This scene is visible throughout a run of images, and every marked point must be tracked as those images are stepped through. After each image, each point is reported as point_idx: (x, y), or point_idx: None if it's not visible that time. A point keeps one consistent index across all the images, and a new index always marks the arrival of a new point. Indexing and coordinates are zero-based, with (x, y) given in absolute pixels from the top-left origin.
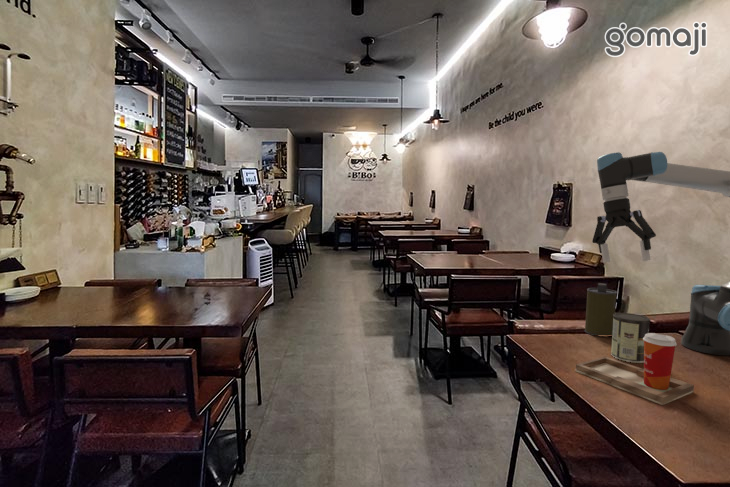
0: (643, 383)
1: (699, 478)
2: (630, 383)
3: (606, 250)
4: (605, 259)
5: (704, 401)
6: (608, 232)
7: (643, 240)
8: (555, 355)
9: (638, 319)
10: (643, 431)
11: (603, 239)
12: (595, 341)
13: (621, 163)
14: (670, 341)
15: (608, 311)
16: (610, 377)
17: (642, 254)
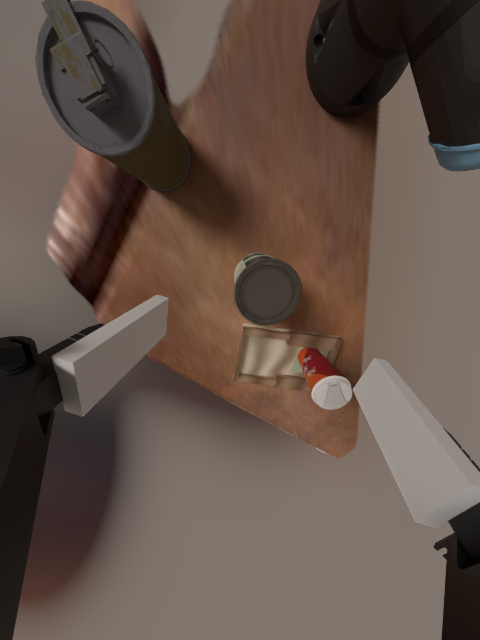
0: (297, 360)
1: (346, 453)
2: (292, 385)
3: (123, 348)
4: (157, 337)
5: (348, 351)
6: (2, 593)
7: (451, 523)
8: (191, 350)
9: (283, 302)
10: (314, 432)
11: (42, 454)
12: (188, 233)
13: None
14: (347, 402)
15: (168, 155)
16: (273, 385)
17: (369, 418)
